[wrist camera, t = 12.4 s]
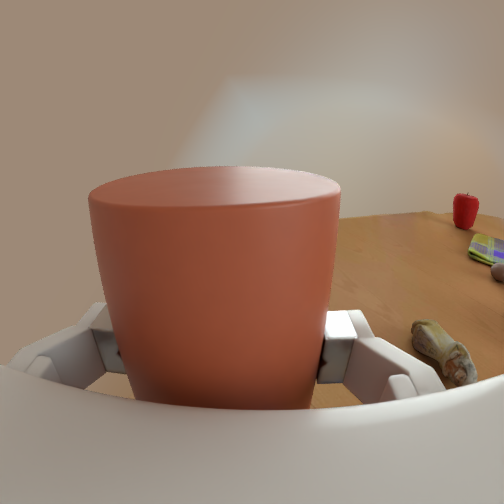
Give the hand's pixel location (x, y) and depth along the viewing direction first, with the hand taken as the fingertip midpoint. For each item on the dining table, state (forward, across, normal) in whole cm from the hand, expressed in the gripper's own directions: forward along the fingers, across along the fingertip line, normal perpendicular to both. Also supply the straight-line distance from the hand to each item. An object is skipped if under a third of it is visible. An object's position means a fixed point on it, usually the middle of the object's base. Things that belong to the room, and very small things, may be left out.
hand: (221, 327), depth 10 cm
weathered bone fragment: (+17, -25, +20) cm, 36 cm away
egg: (+40, -59, +20) cm, 74 cm away
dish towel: (+56, -71, +20) cm, 93 cm away
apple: (+83, -78, +20) cm, 116 cm away
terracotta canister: (-1, 0, +5) cm, 5 cm away
